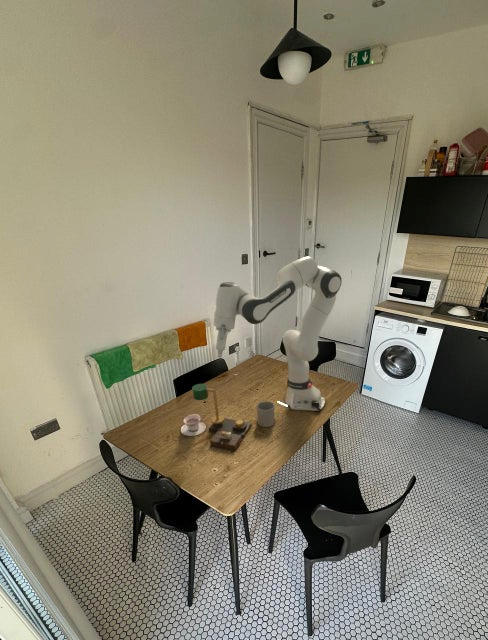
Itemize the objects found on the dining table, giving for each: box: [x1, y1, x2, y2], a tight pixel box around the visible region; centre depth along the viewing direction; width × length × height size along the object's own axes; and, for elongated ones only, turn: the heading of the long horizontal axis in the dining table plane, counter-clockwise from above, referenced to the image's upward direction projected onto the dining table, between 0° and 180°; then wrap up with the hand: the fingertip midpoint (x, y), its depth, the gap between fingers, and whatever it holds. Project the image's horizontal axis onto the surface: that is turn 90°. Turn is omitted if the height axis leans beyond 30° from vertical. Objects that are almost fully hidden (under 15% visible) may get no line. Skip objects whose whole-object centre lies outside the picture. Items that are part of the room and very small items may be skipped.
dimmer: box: [209, 431, 243, 452], centre depth 147 cm, size 12×9×3 cm
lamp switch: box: [236, 419, 244, 427], centre depth 154 cm, size 4×4×2 cm
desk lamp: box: [191, 383, 225, 424], centre depth 154 cm, size 14×7×17 cm, turn 74°
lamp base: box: [208, 417, 252, 439], centre depth 157 cm, size 18×10×4 cm, turn 74°
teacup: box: [180, 413, 207, 437], centre depth 155 cm, size 12×12×6 cm
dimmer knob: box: [220, 431, 232, 440], centre depth 146 cm, size 5×2×3 cm, turn 73°
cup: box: [256, 400, 275, 428], centre depth 160 cm, size 8×8×10 cm
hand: (220, 353), depth 141 cm, fingers open, 8 cm apart
